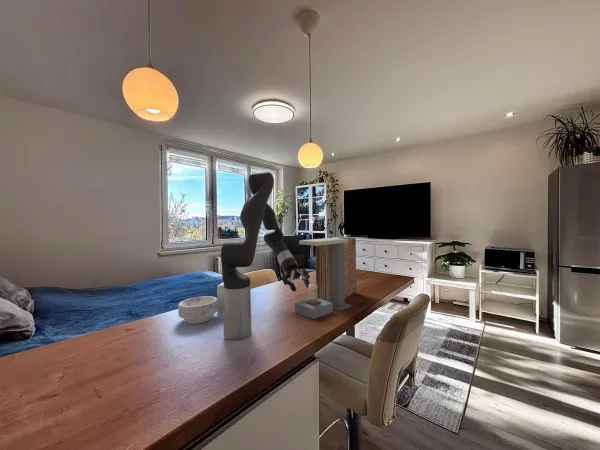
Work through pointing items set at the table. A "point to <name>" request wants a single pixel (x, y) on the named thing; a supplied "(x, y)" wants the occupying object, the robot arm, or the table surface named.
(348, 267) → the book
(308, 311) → the socket
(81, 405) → the table surface
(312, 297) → the peg
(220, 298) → the supplement box
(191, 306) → the paper bowls
